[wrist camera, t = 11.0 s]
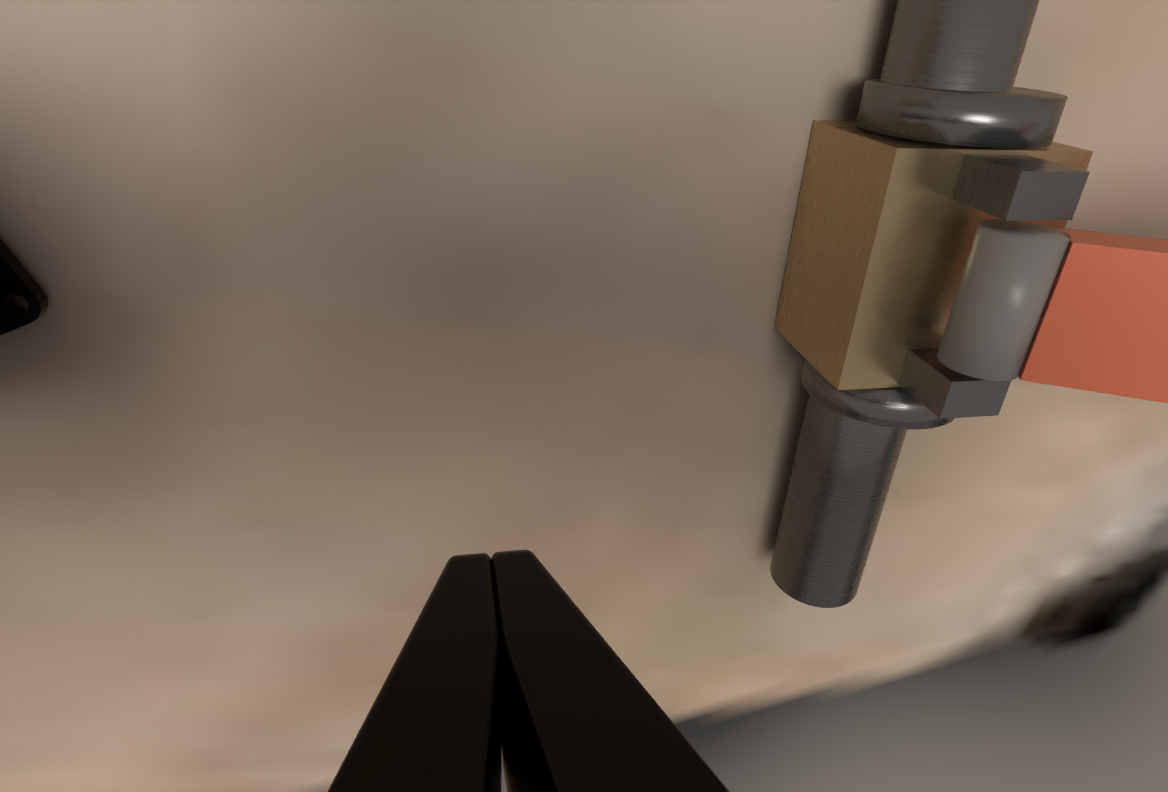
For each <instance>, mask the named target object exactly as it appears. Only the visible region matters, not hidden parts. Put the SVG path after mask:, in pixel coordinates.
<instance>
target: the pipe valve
mask: <svg viewBox="0 0 1168 792" xmlns="http://www.w3.org/2000/svg"><path fill="white" fill-rule="evenodd" d="M1038 3H1039V0H898V2H897V6H896V10H895V15H894V19H893V24H892V28H891V33H890V37H889V42H888V46H887V50H886V55H885V59H884V64H883V68H882V73H881V77H880V78H874V79H867V80H865V84H864V88H863V93H862V97H861V102H860V107H859V111H858V116H857V121H815V120H814V121H813V127H812V132H811V137H810V143H809V148H808V153H807V158H806V164H805V169H804V174H803V180H802V185H801V190H800V196H799V201H798V206H797V211H796V217H795V222H794V227H793V233H792V238H791V243H790V248H789V254H788V259H787V264H786V270H785V275H784V280H783V285H782V291H781V296H780V301H779V307H778V312H777V317H776V323H775V329H776V330H777V331H778V332H779V333H780V334H781V335H782V336H783V337H784V338H785V339H786V340H787V341H788V342H789V343H790V344H791V345H792V346H793V347H794V348H795V349H796V350H797V351H798V352H799V353H800V354H801V355H802V356H803V357H804V358H805V361H804V366H803V370H802V375H801V381H802V384H803V386H804V388H805V390H806V391H807V392H808V393H809V397H808V401H807V406H806V410H805V415H804V419H803V424H802V428H801V432H800V437H799V441H798V446H797V450H796V455H795V459H794V464H793V468H792V472H791V477H790V481H789V486H788V490H787V495H786V499H785V504H784V508H783V512H782V517H781V521H780V526H779V530H778V535H777V539H776V544H775V548H774V552H773V557H772V561H771V567H770V570H771V575H772V578H773V580H774V581H775V583H776V584H777V585H778V587H779V588H780V589H781V590H782V591H783V592H785V593H786V594H787V595H789V596H790V597H792V598H794V599H796V600H797V601H800V602H802V603H805V604H808V605H811V606H815V607H822V608H833V607H839V606H842V605H845V604H847V603H849V602H850V601H851V600H852V599H853V598H854V597H855V595H856V593H857V590H858V587H859V584H860V580H861V577H862V574H863V571H864V567H865V564H866V561H867V558H868V554H869V551H870V548H871V545H872V542H873V538H874V535H875V532H876V529H877V525H878V522H879V519H880V516H881V512H882V509H883V506H884V503H885V499H886V496H887V493H888V490H889V486H890V483H891V480H892V477H893V473H894V470H895V467H896V464H897V460H898V457H899V454H900V451H901V447H902V444H903V441H904V438H905V435H906V431H907V429H928V428H934V427H939V426H942V425H945V424H947V423H949V422H951V421H953V420H954V419H955V418H960V417H977V416H994V415H998V414H999V412H1000V409H1001V406H1002V404H1003V401H1004V398H1005V396H1006V393H1007V390H1008V388H1009V385H1010V382H1011V380H1008V381H991V380H984V379H978V378H974V377H970V376H967V375H964V374H961V373H958V372H956V371H954V370H952V369H950V368H948V367H946V366H945V365H943V364H942V363H941V362H940V361H939V360H938V358H937V353H938V350H939V346H940V343H941V340H942V337H943V334H944V330H945V327H946V324H947V321H948V318H949V315H950V311H951V308H952V305H953V302H954V299H955V295H956V292H957V289H958V286H959V283H960V279H961V276H962V273H963V270H964V267H965V263H966V260H967V257H968V254H969V251H970V248H971V244H972V241H973V238H974V235H975V232H976V228H977V225H978V223H979V222H980V221H982V220H988V219H1003V220H1016V221H1024V222H1030V223H1035V224H1040V225H1044V226H1048V227H1052V228H1055V229H1057V228H1062V229H1064V228H1065V225H1066V223H1067V220H1072V217H1073V215H1074V212H1075V209H1076V207H1077V204H1078V201H1079V199H1080V196H1081V193H1082V191H1083V188H1084V186H1085V183H1086V180H1087V178H1088V175H1089V172H1088V171H1086V169H1087V166H1088V164H1089V161H1090V158H1091V156H1092V153H1093V151H1089V150H1084V149H1080V148H1076V147H1072V146H1068V145H1064V144H1059V143H1055V142H1052V141H1053V138H1054V135H1055V132H1056V129H1057V127H1058V124H1059V121H1060V118H1061V115H1062V112H1063V109H1064V106H1065V103H1066V100H1067V96H1065V95H1061V94H1057V93H1052V92H1047V91H1041V90H1034V89H1027V88H1019V87H1013V84H1014V81H1015V78H1016V75H1017V71H1018V68H1019V65H1020V62H1021V58H1022V55H1023V52H1024V49H1025V45H1026V42H1027V39H1028V36H1029V32H1030V29H1031V26H1032V23H1033V19H1034V16H1035V13H1036V10H1037V6H1038Z"/></svg>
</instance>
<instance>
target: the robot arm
mask: <svg viewBox="0 0 1168 792" xmlns="http://www.w3.org/2000/svg"><path fill="white" fill-rule="evenodd" d="M13 294H15V295H19V296H22V297H23V298H24V299H26V300H27V302H28V304H29V308H24V307H20V306H19V305H18V304H16V303H15V301H14V299H13ZM47 308H48V297H47V296H46V294H45V292H44V290H43V289H42V288H41V287H40V286H39V284H38V283H37V282H36V281H35V280H34V278H33V277H32V276H31V275H30V274H29V272H28V271H27V270H26V269H25V268H24V266H23V265H22V264H21V263H20V262H19V260H18V259H17V258H16V257H15V256H14V254H13V253H12V252H11V251H10V250H9V248H8V247H7V246H6V245H5V244H4V242H3V241H2V240H1V239H0V335H3V334H5V333H7V332H10V331H12V330H14V329H17V328H19V327H22V326H24V325H26V324H29V323H31V322H33V321H34V320H36V319H37V318H38V317H40V316H41V315H42V314H43V313H45V312H46V310H47ZM501 750H502V760H503V770H504V776H505V782H506V788H507V792H729V790H728V789H727V788H726V786H725V785H724V784H723V783H722V782H721V780H720V779H719V778H718V777H717V776H716V774H715V773H714V772H713V771H712V770H711V768H710V767H709V766H708V765H707V764H706V762H705V761H704V760H703V759H702V757H701V756H700V755H699V754H698V753H697V751H696V750H695V749H694V748H693V746H692V745H691V744H690V743H689V742H688V740H687V739H686V738H685V737H684V736H683V734H682V733H681V732H680V731H679V730H678V728H677V727H676V726H675V725H674V723H673V722H672V721H671V720H670V719H669V717H668V716H667V715H666V714H665V713H664V711H663V710H662V709H661V708H660V706H659V705H658V704H657V703H656V702H655V700H654V699H653V698H652V697H651V696H650V694H649V693H648V692H647V691H646V689H645V688H644V687H643V686H642V685H641V683H640V682H639V681H638V680H637V679H636V677H635V676H634V675H633V674H632V673H631V671H630V670H629V669H628V668H627V666H626V665H625V664H624V663H623V662H622V660H621V659H620V658H619V657H618V656H617V654H616V653H615V652H614V651H613V650H612V648H611V647H610V646H609V645H608V643H607V642H606V641H605V640H604V639H603V637H602V636H601V635H600V634H599V633H598V631H597V630H596V629H595V628H594V626H593V625H592V624H591V623H590V622H589V620H588V619H587V618H586V617H585V616H584V614H583V613H582V612H581V611H580V610H579V608H578V607H577V606H576V605H575V603H574V602H573V601H572V600H571V599H570V597H569V596H568V595H567V594H566V593H565V591H564V590H563V589H562V588H561V587H560V585H559V584H558V583H557V582H556V580H555V579H554V578H553V577H552V576H551V574H550V573H549V572H548V571H547V570H546V568H545V567H544V566H543V565H542V564H541V562H540V561H539V560H538V559H537V557H536V556H535V555H534V554H533V553H532V552H531V551H529V550H515V551H503V552H496V553H494V554H493V556H492V558H491V559H490V557H489V555H488V554H486V553H479V554H467V555H456V556H453V557H451V558H450V559H449V561H448V562H447V564H446V566H445V567H444V569H443V571H442V573H441V575H440V577H439V579H438V581H437V583H436V585H435V587H434V589H433V590H432V592H431V594H430V596H429V598H428V600H427V602H426V604H425V606H424V608H423V610H422V612H421V613H420V615H419V617H418V619H417V621H416V623H415V625H414V627H413V629H412V631H411V633H410V635H409V636H408V638H407V640H406V642H405V644H404V646H403V648H402V650H401V652H400V654H399V656H398V657H397V659H396V661H395V663H394V665H393V667H392V669H391V671H390V673H389V675H388V677H387V679H386V680H385V682H384V684H383V686H382V688H381V690H380V692H379V694H378V696H377V698H376V700H375V702H374V703H373V705H372V707H371V709H370V711H369V713H368V715H367V717H366V719H365V721H364V723H363V725H362V726H361V728H360V730H359V732H358V734H357V736H356V738H355V740H354V742H353V744H352V746H351V747H350V749H349V751H348V753H347V755H346V757H345V759H344V761H343V763H342V765H341V767H340V769H339V770H338V772H337V774H336V776H335V778H334V780H333V782H332V784H331V786H330V788H329V790H328V792H501V778H502V777H501V776H502V775H501V774H502V767H501V766H502V760H501Z"/></svg>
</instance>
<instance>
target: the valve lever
mask: <svg viewBox="0 0 1168 792" xmlns="http://www.w3.org/2000/svg"><path fill="white" fill-rule="evenodd" d="M937 358H938V360H939V361H940V362H941V363H942V364H943V365H945V366H946V367H948V368H950V369H952V370H954V371H956V372H958V373H961V374H964V375H967V376H970V377H974V378H978V379H984V380H991V381H1008V380H1013V379H1016V378H1017V377H1019V378H1020V380H1023V381H1030V382H1036V383H1043V384H1049V385H1055V386H1062V387H1068V388H1075V389H1081V390H1087V391H1094V392H1100V393H1107V394H1113V395H1119V396H1126V397H1132V398H1139V399H1145V400H1151V401H1158V402H1164V403H1168V240H1162V239H1153V238H1143V237H1134V236H1125V235H1116V234H1107V233H1098V232H1089V231H1080V230H1071V229H1062V228H1057V229H1055V228H1052V227H1048V226H1044V225H1040V224H1035V223H1030V222H1024V221H1016V220H1003V219H988V220H982V221H980V222H979V223H978V225H977V228H976V232H975V235H974V238H973V241H972V244H971V248H970V251H969V254H968V257H967V260H966V263H965V267H964V270H963V273H962V276H961V279H960V283H959V286H958V289H957V292H956V295H955V299H954V302H953V305H952V308H951V311H950V315H949V318H948V321H947V324H946V327H945V330H944V334H943V337H942V340H941V343H940V346H939V350H938V353H937Z"/></svg>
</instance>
